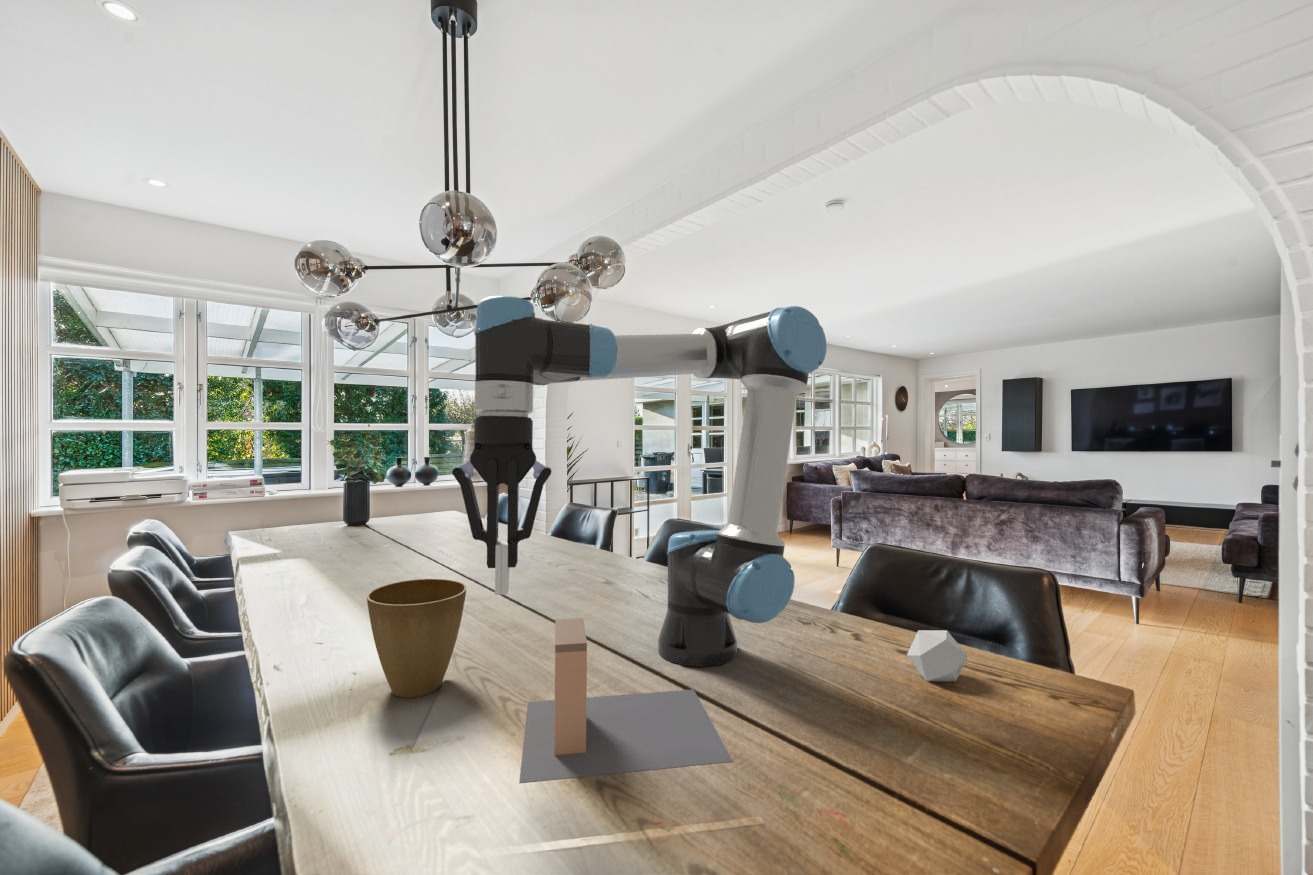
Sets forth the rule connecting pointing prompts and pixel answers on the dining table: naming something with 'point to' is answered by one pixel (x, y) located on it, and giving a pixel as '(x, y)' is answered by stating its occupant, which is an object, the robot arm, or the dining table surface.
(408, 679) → the plant pot
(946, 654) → the die
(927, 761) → the dining table surface
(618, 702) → the mat
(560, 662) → the pink rectangular block
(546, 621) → the dining table surface
